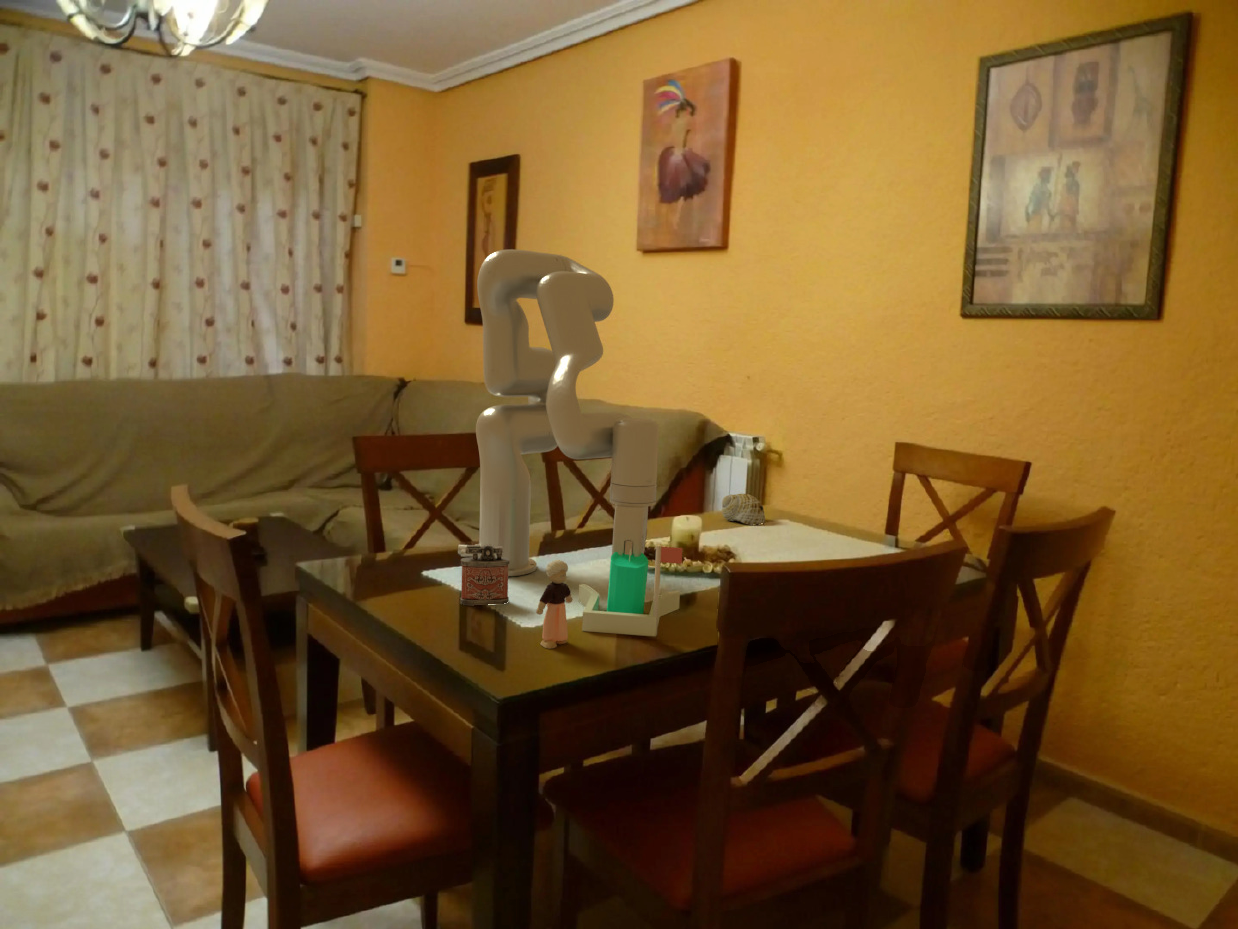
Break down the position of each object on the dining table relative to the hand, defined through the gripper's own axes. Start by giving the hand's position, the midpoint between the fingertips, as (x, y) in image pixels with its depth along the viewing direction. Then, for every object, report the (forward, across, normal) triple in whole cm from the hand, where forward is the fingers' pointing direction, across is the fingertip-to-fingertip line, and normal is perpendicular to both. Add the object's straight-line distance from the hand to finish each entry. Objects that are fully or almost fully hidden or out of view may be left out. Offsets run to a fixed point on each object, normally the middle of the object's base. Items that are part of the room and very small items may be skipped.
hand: (628, 602), depth 150 cm
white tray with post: (+2, +3, 0) cm, 4 cm away
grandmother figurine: (+2, +17, -9) cm, 20 cm away
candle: (+1, +4, 0) cm, 4 cm away
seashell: (+2, -81, +22) cm, 84 cm away
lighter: (+2, 0, -24) cm, 24 cm away
